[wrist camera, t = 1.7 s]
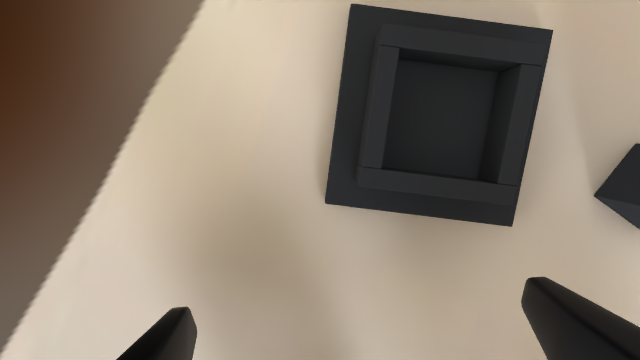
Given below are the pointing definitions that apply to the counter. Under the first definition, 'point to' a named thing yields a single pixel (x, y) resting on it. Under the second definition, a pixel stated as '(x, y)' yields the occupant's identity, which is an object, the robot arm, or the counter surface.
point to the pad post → (624, 188)
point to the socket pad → (435, 114)
